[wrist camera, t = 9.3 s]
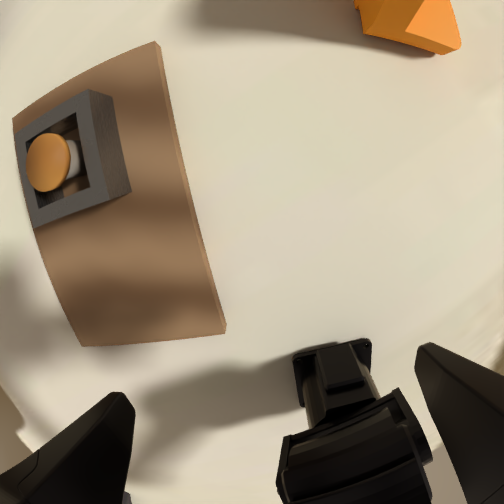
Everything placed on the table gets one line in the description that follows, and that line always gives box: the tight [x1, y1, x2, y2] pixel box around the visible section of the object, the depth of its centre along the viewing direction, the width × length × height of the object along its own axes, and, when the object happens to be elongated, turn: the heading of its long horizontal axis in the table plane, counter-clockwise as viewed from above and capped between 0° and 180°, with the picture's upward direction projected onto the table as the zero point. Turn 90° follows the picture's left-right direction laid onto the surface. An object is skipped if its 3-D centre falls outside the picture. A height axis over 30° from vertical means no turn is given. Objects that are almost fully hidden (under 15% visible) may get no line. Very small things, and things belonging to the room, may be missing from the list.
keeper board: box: [12, 41, 227, 347], centre depth 15 cm, size 20×13×5 cm, turn 12°
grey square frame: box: [14, 89, 132, 228], centre depth 14 cm, size 6×6×3 cm
